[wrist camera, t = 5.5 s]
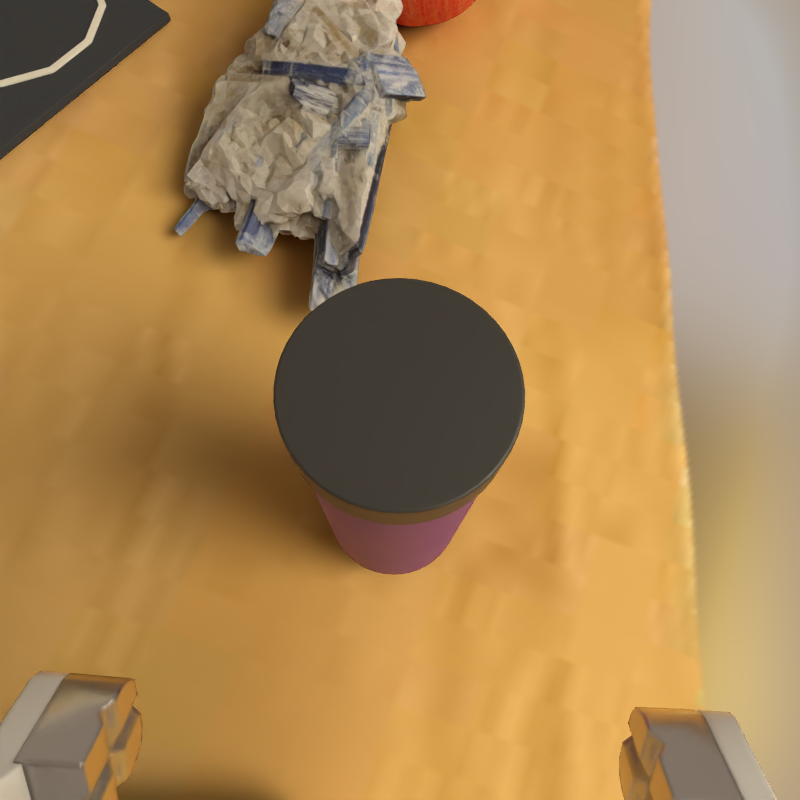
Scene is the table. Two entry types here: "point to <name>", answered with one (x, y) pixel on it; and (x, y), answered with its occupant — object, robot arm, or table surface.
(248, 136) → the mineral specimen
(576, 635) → the table surface
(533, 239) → the table surface
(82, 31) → the drawing mat
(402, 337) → the disc
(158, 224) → the table surface
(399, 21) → the apple
